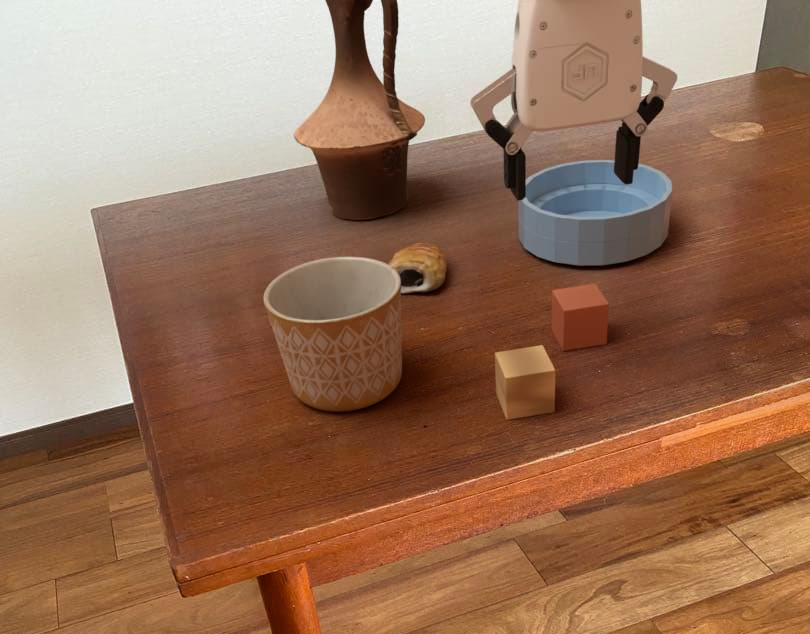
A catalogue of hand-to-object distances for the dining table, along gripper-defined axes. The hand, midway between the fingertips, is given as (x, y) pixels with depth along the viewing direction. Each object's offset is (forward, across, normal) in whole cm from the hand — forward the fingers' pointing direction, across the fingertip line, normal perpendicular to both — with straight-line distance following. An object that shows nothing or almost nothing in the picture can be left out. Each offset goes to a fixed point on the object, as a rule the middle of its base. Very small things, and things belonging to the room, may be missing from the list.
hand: (570, 186), depth 79 cm
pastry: (+16, -12, +19) cm, 28 cm away
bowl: (+16, +10, +23) cm, 29 cm away
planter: (+16, -22, -1) cm, 28 cm away
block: (+16, -6, -9) cm, 19 cm away
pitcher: (+16, -15, +43) cm, 48 cm away
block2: (+16, +2, +1) cm, 16 cm away
